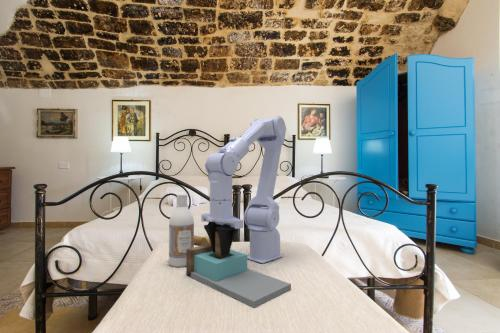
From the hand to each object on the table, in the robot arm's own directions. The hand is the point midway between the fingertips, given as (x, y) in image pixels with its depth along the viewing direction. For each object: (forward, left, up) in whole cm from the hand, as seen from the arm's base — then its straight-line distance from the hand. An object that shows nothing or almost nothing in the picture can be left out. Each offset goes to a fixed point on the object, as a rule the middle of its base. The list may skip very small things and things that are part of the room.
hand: (220, 253), depth 70 cm
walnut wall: (0, -6, -6) cm, 8 cm away
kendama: (-14, -24, -6) cm, 28 cm away
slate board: (0, +5, -6) cm, 8 cm away
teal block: (0, 0, -4) cm, 4 cm away
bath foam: (+2, -16, -6) cm, 17 cm away
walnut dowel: (0, 0, -2) cm, 2 cm away
